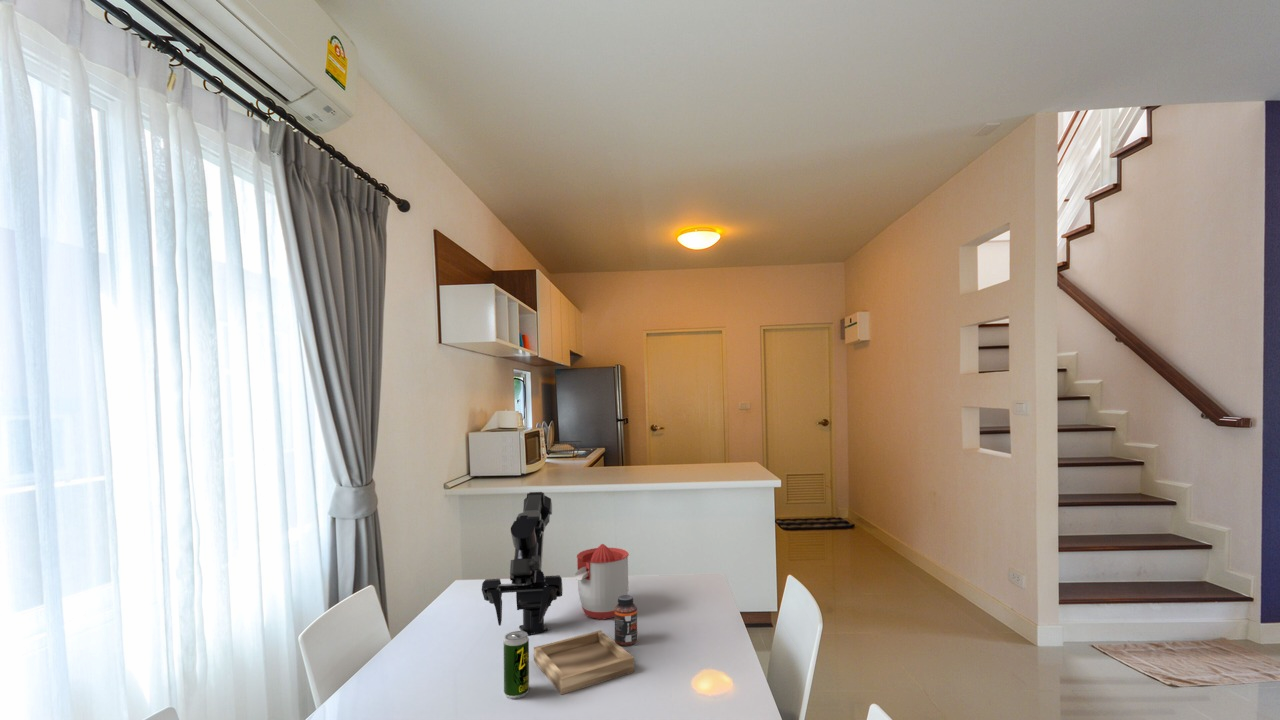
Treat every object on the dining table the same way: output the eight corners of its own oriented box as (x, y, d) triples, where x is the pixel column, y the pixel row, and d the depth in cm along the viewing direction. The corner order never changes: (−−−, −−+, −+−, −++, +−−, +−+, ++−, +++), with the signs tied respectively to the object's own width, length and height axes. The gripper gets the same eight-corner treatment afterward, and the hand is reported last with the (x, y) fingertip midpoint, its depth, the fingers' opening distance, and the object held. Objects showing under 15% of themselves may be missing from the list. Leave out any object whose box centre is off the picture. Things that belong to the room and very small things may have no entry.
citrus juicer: (562, 614, 161) (561, 545, 162) (608, 598, 172) (606, 534, 174) (594, 629, 149) (592, 555, 151) (640, 612, 161) (639, 543, 162)
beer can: (498, 697, 115) (498, 639, 116) (512, 684, 121) (511, 629, 122) (521, 701, 114) (520, 642, 115) (533, 688, 119) (533, 631, 120)
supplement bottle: (635, 647, 137) (633, 601, 138) (612, 646, 139) (611, 600, 140) (639, 637, 143) (638, 593, 144) (618, 636, 144) (617, 592, 145)
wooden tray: (533, 661, 132) (533, 647, 132) (600, 642, 141) (600, 630, 141) (561, 694, 116) (561, 679, 116) (634, 671, 125) (634, 657, 125)
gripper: (483, 545, 130) (472, 609, 118) (561, 541, 132) (558, 604, 120) (489, 569, 137) (480, 632, 125) (563, 565, 139) (561, 627, 127)
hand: (519, 623), depth 124 cm, fingers open, 9 cm apart
